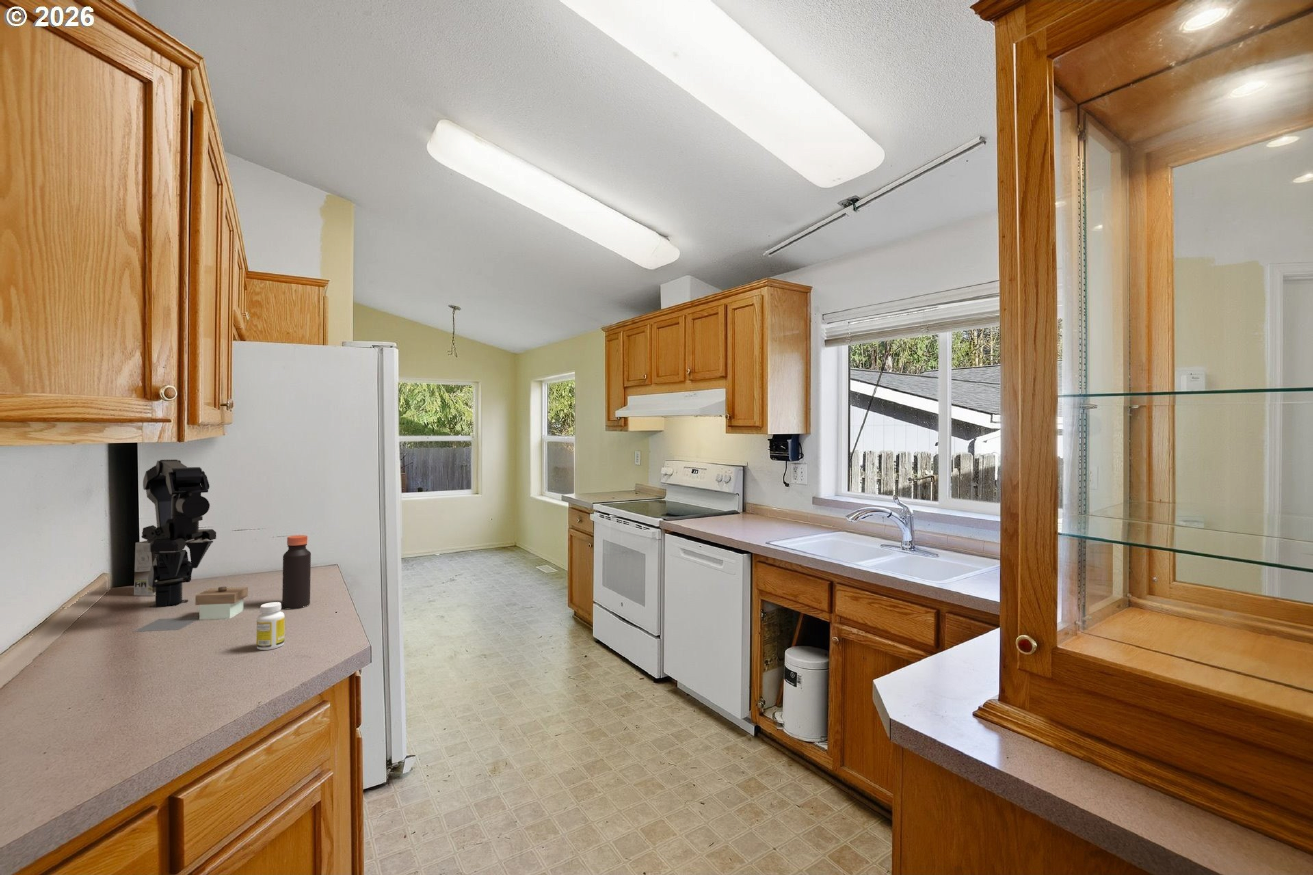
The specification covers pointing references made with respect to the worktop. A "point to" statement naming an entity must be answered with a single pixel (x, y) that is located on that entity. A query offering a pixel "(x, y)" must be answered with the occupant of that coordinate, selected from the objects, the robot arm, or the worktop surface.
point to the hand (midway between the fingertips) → (184, 572)
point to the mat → (167, 624)
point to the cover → (221, 595)
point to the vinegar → (296, 573)
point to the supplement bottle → (270, 626)
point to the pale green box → (220, 611)
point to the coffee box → (143, 569)
